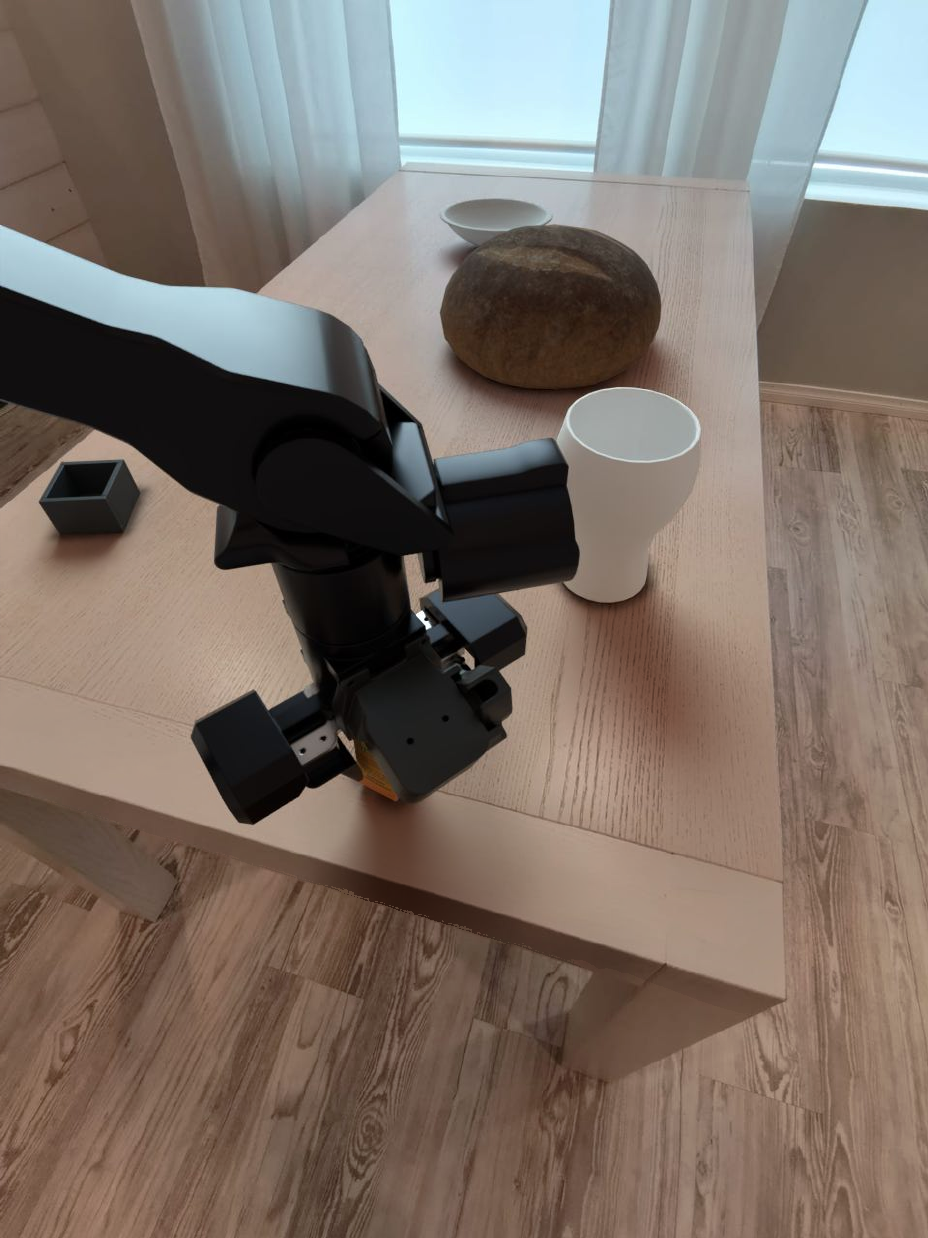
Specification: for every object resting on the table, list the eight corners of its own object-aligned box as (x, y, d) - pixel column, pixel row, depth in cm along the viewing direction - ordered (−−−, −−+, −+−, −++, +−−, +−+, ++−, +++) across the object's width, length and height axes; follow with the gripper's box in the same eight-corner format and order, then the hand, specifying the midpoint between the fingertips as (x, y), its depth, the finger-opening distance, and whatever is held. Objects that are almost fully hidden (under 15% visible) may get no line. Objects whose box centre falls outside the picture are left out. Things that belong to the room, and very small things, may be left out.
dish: (554, 234, 108) (557, 199, 104) (544, 269, 99) (547, 233, 95) (450, 228, 110) (449, 194, 107) (431, 262, 101) (430, 227, 97)
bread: (608, 421, 73) (629, 301, 62) (405, 364, 81) (396, 251, 71) (679, 324, 87) (705, 214, 77) (500, 284, 96) (503, 181, 86)
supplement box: (354, 785, 44) (341, 698, 37) (381, 747, 46) (375, 658, 39) (395, 808, 43) (391, 723, 36) (422, 768, 46) (422, 680, 38)
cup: (517, 576, 57) (527, 428, 46) (585, 515, 62) (609, 368, 51) (621, 637, 53) (661, 489, 41) (685, 565, 58) (736, 416, 46)
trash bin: (123, 531, 62) (105, 498, 59) (59, 535, 62) (38, 502, 59) (140, 491, 66) (123, 458, 63) (80, 494, 66) (61, 461, 63)
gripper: (233, 850, 23) (319, 956, 35) (611, 610, 30) (575, 767, 42) (134, 652, 29) (236, 801, 41) (468, 489, 36) (472, 657, 48)
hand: (387, 756), depth 43 cm, fingers closed on supplement box, 4 cm apart
